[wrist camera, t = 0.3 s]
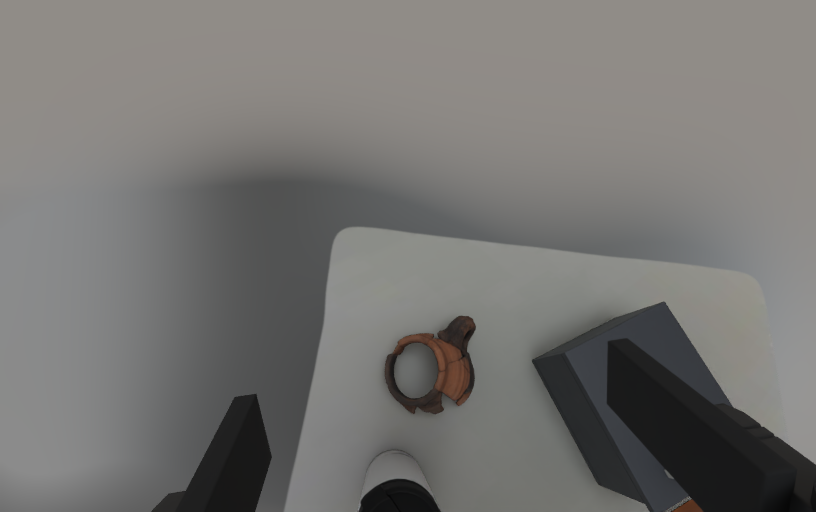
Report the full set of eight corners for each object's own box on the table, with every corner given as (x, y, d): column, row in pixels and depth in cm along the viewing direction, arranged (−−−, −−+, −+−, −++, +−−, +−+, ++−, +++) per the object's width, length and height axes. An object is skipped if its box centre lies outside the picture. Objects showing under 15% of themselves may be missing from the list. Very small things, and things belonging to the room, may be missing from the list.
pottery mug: (457, 431, 48) (426, 435, 42) (397, 385, 54) (361, 381, 47) (508, 338, 49) (486, 327, 42) (444, 301, 54) (414, 286, 47)
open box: (685, 433, 49) (748, 441, 41) (598, 484, 47) (644, 504, 39) (615, 317, 53) (659, 303, 45) (531, 360, 51) (560, 353, 42)
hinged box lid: (753, 449, 41) (834, 461, 33) (650, 513, 38) (713, 541, 31) (659, 303, 45) (713, 285, 37) (560, 353, 42) (597, 345, 35)
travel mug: (398, 434, 48) (407, 461, 29) (434, 487, 46) (469, 552, 27) (351, 471, 46) (329, 526, 27) (387, 527, 45) (389, 625, 26)
